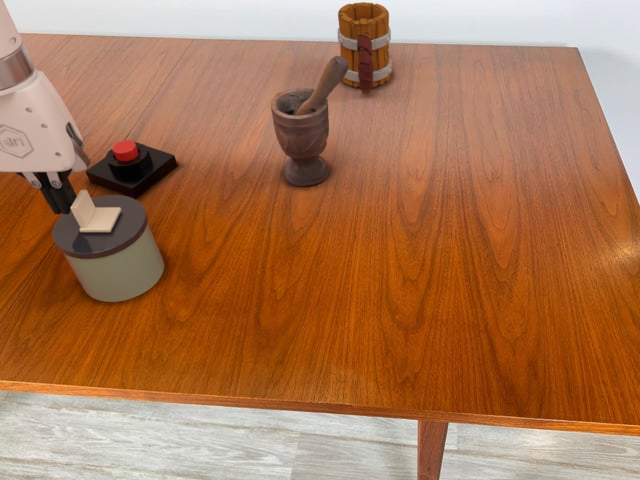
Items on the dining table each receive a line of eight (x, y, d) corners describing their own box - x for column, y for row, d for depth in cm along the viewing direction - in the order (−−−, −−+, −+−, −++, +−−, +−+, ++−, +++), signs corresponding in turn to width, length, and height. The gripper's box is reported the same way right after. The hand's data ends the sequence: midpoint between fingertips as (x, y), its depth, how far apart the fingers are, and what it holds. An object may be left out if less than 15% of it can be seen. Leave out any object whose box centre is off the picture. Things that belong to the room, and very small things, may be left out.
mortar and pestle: (342, 150, 101) (334, 36, 86) (358, 179, 95) (352, 62, 80) (277, 165, 98) (257, 49, 83) (289, 195, 92) (270, 76, 78)
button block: (90, 182, 95) (80, 161, 92) (133, 150, 101) (125, 130, 98) (136, 199, 92) (127, 179, 89) (178, 165, 98) (171, 145, 95)
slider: (80, 232, 73) (68, 210, 70) (92, 209, 76) (81, 187, 73) (110, 232, 73) (99, 210, 70) (121, 209, 76) (111, 187, 73)
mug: (390, 62, 122) (390, -13, 111) (394, 103, 111) (395, 23, 100) (339, 63, 122) (334, -12, 111) (338, 104, 111) (332, 25, 100)
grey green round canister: (68, 303, 77) (37, 253, 71) (97, 244, 85) (72, 194, 78) (153, 303, 77) (130, 253, 70) (174, 244, 85) (156, 194, 78)
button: (111, 158, 93) (107, 149, 92) (127, 147, 96) (123, 138, 94) (127, 164, 92) (124, 155, 91) (143, 152, 94) (140, 143, 93)
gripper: (-103, 86, 57) (-7, 227, 70) (49, 84, 56) (116, 227, 70) (-62, 50, 62) (20, 189, 75) (77, 49, 61) (134, 188, 75)
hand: (66, 207), depth 73 cm, fingers closed
